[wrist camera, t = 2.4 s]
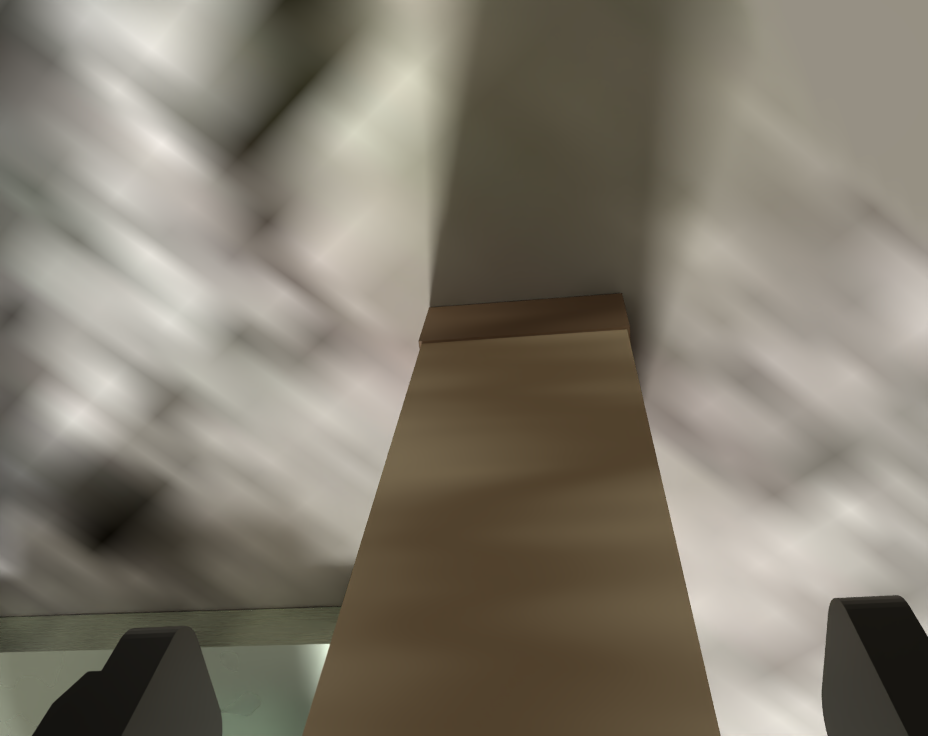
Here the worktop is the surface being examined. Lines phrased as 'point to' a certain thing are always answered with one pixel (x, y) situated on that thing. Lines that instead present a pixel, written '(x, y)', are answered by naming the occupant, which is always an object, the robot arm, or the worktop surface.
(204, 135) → the worktop surface
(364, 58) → the worktop surface
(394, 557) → the maple rail
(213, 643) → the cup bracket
